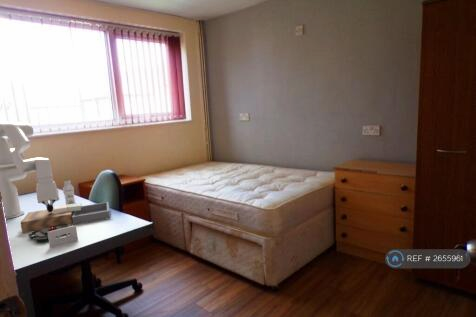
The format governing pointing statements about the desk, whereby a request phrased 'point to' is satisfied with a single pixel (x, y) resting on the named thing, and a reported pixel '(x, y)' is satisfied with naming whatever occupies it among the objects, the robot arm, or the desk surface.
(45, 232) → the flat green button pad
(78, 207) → the tile sage
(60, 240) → the cassette
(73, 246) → the desk surface
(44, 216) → the wooden block
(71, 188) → the plastic bottle
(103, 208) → the bin
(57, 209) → the tile cream
